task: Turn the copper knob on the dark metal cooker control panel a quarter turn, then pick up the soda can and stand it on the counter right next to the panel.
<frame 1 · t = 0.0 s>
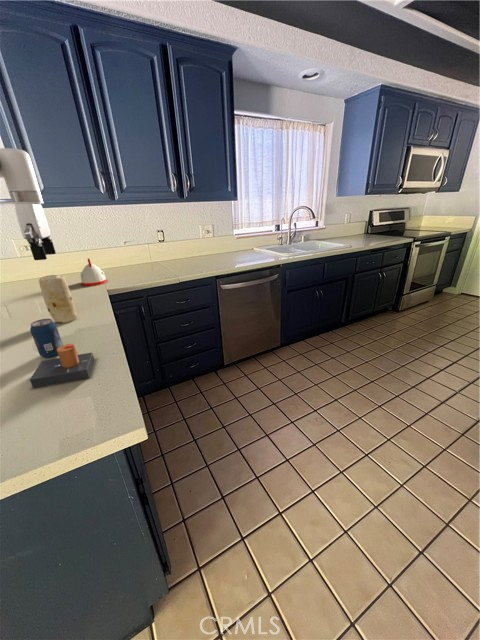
hand: (45, 256, 85), 31 cm above the worktop, tool pointing down, fingers open, 9 cm apart
kitchen timer: (94, 282, 168), on the worktop
cooker panel: (66, 373, 80), on the worktop
soda can: (53, 354, 90), on the worktop
knob: (68, 355, 78), point 6 cm above the worktop, hinge at 0.0°
food model: (65, 321, 115), on the worktop
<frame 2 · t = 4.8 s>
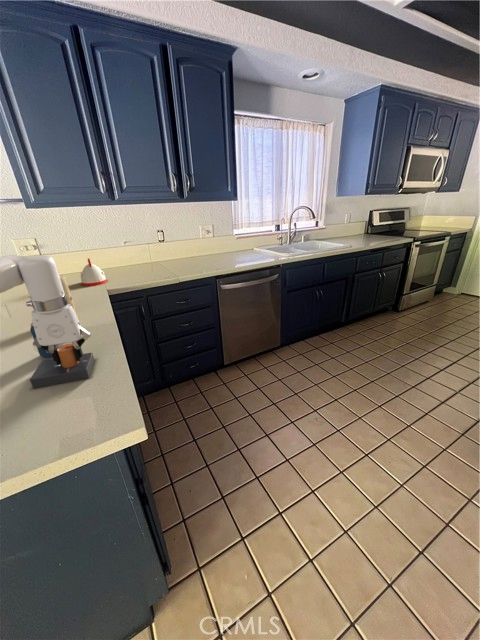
hand: (69, 360, 78), 4 cm above the worktop, tool pointing down, fingers closed on knob, 4 cm apart
knob: (68, 355, 78), point 6 cm above the worktop, hinge at 0.1°, touching gripper
everything else where it was.
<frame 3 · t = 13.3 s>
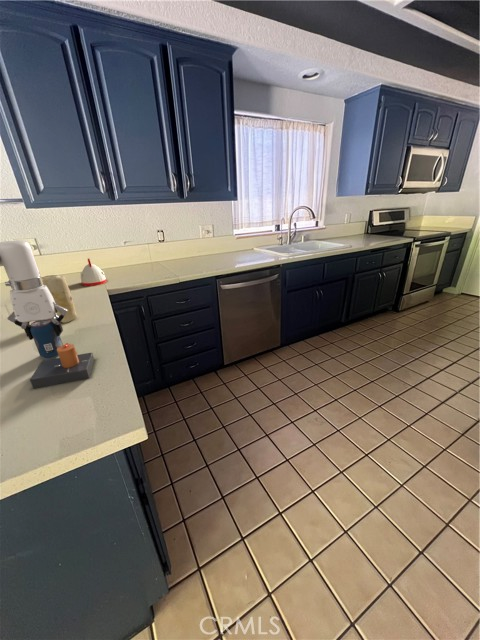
hand: (46, 335, 87), 7 cm above the worktop, tool pointing down, fingers closed on soda can, 7 cm apart
soda can: (53, 354, 90), on the worktop, touching gripper
knob: (68, 355, 78), point 6 cm above the worktop, hinge at 89.0°
everything else where it was.
when the fingers open (7 cm above the worktop, at t = 21.3 s): soda can stays where it is, on the worktop.
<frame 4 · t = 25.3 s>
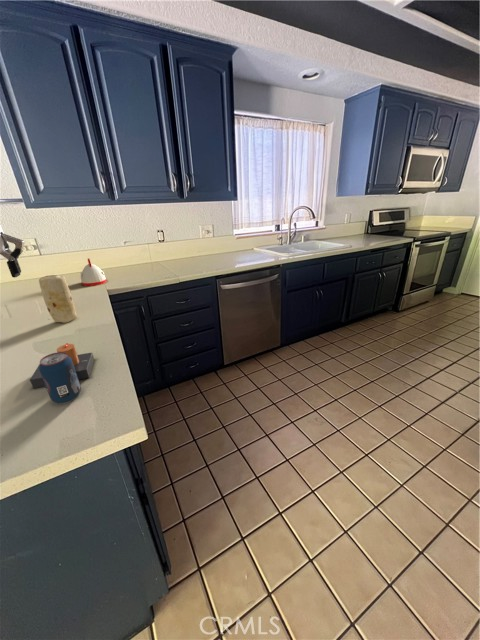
soda can: (67, 397, 70), on the worktop
everything else where it was.
at the end: knob at +89° (first picture: +0°); soda can inside the target area (0.5 cm from its centre), on the worktop; soda can tilted 0° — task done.
